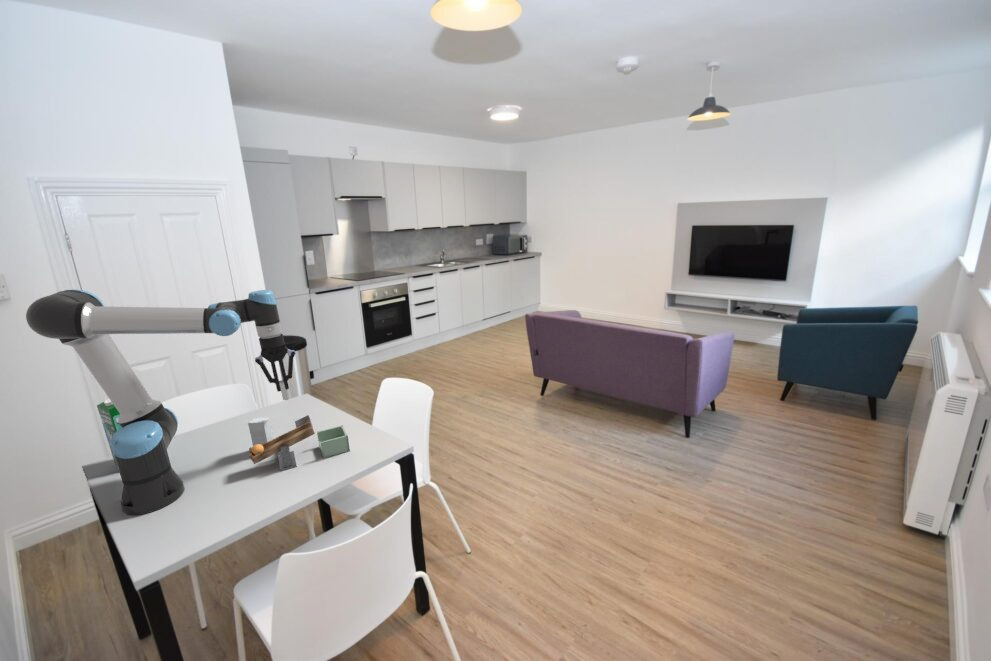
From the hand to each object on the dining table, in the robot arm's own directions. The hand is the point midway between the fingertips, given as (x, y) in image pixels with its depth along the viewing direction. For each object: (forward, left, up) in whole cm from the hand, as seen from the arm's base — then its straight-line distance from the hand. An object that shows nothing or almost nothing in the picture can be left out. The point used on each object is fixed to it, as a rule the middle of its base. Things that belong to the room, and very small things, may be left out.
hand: (285, 398), depth 155 cm
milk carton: (-50, +20, -19) cm, 57 cm away
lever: (-3, -6, -12) cm, 14 cm away
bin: (+13, -11, -19) cm, 25 cm away
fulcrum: (-3, -11, -19) cm, 22 cm away
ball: (-11, -11, -12) cm, 19 cm away
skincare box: (-9, +2, -19) cm, 21 cm away
